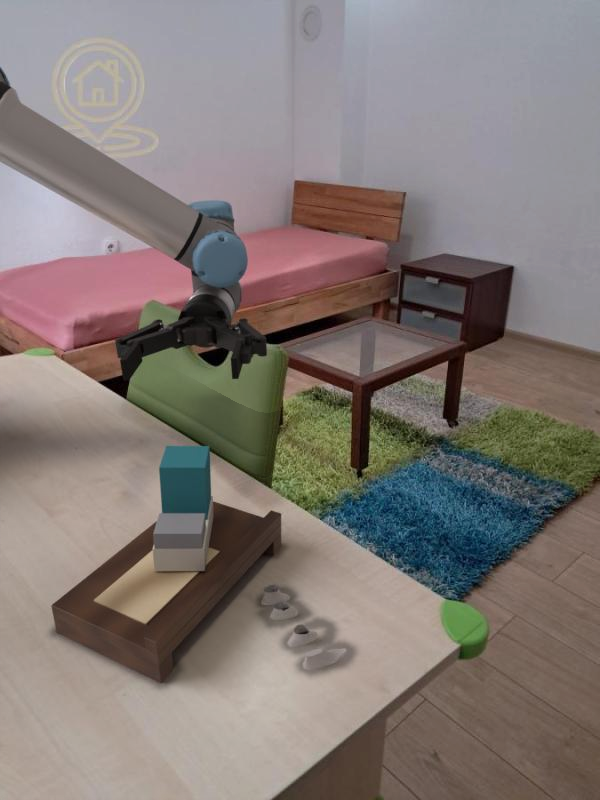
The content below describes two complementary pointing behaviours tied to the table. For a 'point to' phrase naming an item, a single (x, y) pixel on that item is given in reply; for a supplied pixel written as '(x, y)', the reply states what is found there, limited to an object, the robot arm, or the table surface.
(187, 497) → the stacked toy blocks
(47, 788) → the table surface
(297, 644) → the baby socks
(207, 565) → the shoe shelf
